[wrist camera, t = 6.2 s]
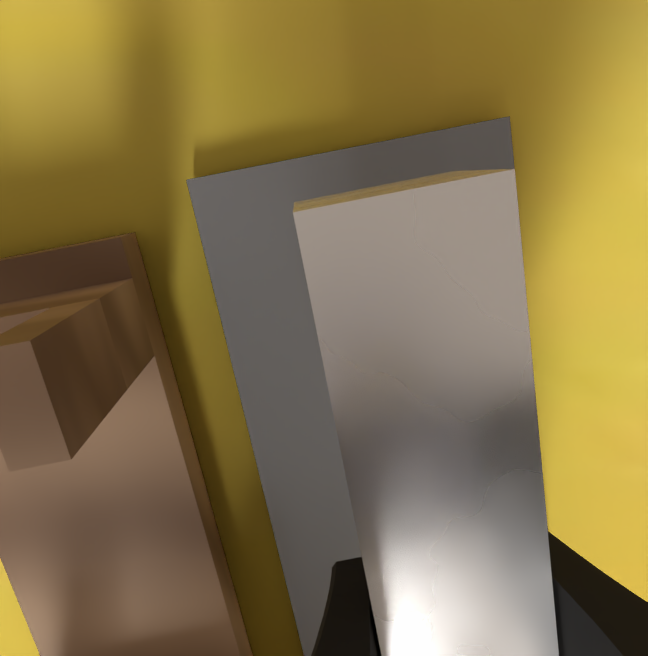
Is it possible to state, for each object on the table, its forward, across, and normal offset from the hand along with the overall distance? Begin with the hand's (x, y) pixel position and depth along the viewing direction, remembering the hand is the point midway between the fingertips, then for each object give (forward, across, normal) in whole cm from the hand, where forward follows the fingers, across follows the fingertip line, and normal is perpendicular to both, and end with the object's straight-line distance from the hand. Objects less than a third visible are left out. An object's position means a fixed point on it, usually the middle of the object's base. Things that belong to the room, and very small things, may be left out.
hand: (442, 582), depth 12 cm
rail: (+1, 0, 0) cm, 1 cm away
